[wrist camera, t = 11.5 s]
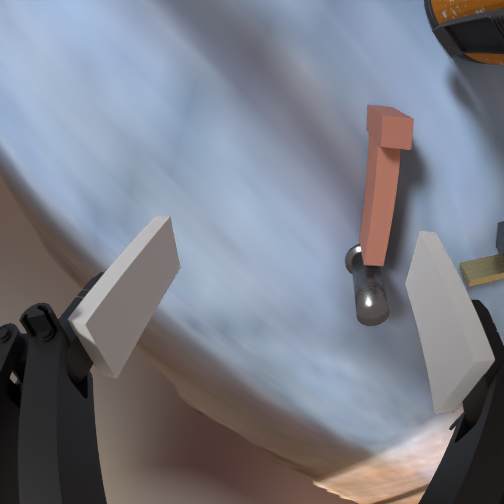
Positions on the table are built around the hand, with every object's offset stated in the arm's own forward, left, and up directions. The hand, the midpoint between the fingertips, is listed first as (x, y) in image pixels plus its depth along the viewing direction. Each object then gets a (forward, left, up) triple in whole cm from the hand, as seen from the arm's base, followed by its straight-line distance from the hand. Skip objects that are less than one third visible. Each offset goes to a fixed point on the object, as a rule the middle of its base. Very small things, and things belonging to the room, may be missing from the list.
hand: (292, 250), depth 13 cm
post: (+12, +3, -16) cm, 20 cm away
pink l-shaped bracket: (+4, +6, -16) cm, 17 cm away
